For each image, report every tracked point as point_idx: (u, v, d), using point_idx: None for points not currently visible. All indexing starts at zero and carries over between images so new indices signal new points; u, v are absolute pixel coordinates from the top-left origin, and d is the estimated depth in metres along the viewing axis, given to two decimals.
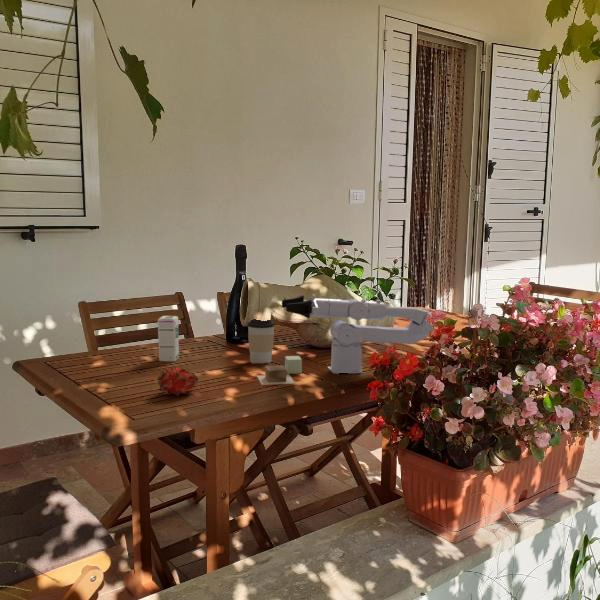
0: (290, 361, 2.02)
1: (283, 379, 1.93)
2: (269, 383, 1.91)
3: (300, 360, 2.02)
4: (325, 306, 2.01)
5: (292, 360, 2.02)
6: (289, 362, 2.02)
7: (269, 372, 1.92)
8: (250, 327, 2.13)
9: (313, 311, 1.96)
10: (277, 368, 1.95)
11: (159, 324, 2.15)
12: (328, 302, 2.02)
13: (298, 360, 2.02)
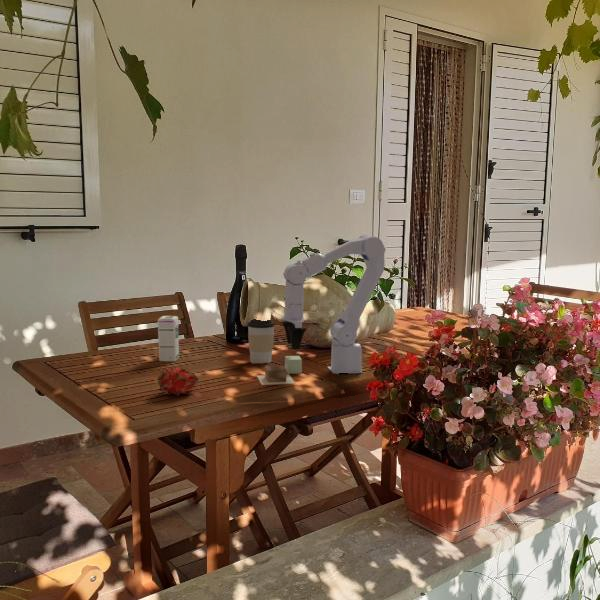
0: (290, 361, 2.02)
1: (283, 379, 1.93)
2: (269, 383, 1.91)
3: (300, 360, 2.02)
4: (292, 308, 1.99)
5: (292, 360, 2.02)
6: (289, 362, 2.02)
7: (269, 372, 1.92)
8: (250, 327, 2.13)
9: (299, 326, 1.95)
10: (277, 368, 1.95)
11: (159, 324, 2.15)
12: (289, 305, 1.99)
13: (298, 360, 2.02)
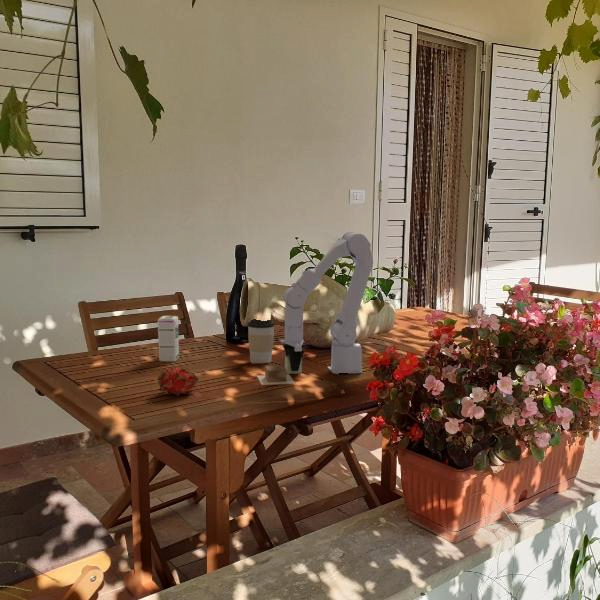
0: None
1: (283, 379, 1.93)
2: (269, 383, 1.91)
3: None
4: (292, 331, 2.00)
5: None
6: (289, 362, 2.02)
7: (269, 372, 1.92)
8: (250, 327, 2.13)
9: (299, 350, 1.97)
10: (277, 368, 1.95)
11: (159, 324, 2.15)
12: (288, 328, 2.00)
13: None
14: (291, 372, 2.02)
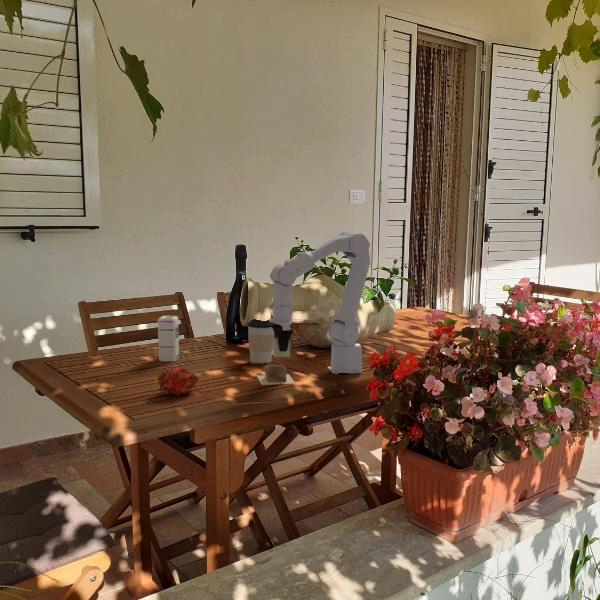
0: None
1: (283, 379, 1.93)
2: (269, 383, 1.91)
3: None
4: (280, 309, 1.93)
5: None
6: (277, 343, 1.95)
7: (269, 372, 1.92)
8: (250, 327, 2.13)
9: (287, 329, 1.89)
10: (277, 368, 1.95)
11: (159, 324, 2.15)
12: (277, 306, 1.93)
13: None
14: (279, 354, 1.95)
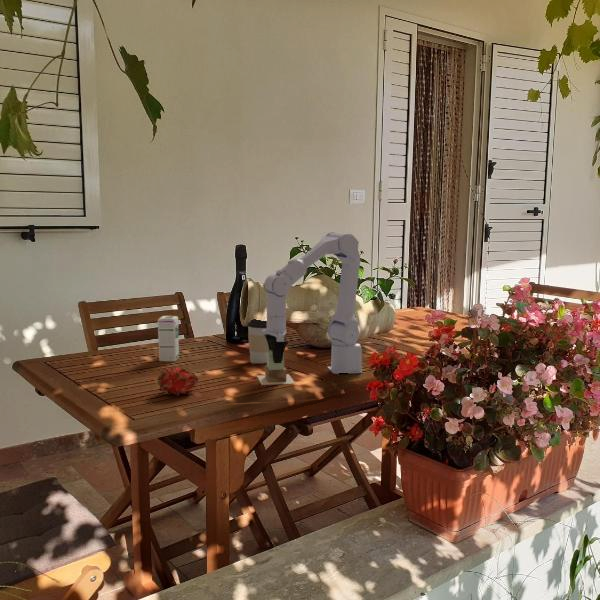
0: (272, 355, 1.92)
1: (283, 379, 1.93)
2: (269, 383, 1.91)
3: None
4: (274, 320, 1.90)
5: None
6: (271, 356, 1.92)
7: (269, 372, 1.92)
8: (250, 327, 2.13)
9: (281, 340, 1.87)
10: None
11: (159, 324, 2.15)
12: (270, 317, 1.90)
13: None
14: (273, 367, 1.93)
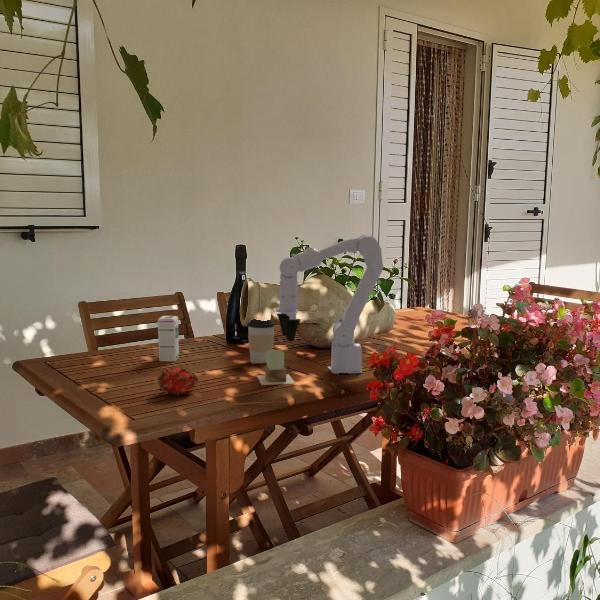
0: (272, 355, 1.92)
1: (283, 379, 1.93)
2: (269, 383, 1.91)
3: (282, 354, 1.92)
4: (287, 300, 2.02)
5: (274, 354, 1.92)
6: (271, 356, 1.92)
7: (269, 372, 1.92)
8: (250, 327, 2.13)
9: (293, 318, 1.99)
10: None
11: (159, 324, 2.15)
12: (283, 297, 2.02)
13: (280, 354, 1.92)
14: (273, 367, 1.93)
